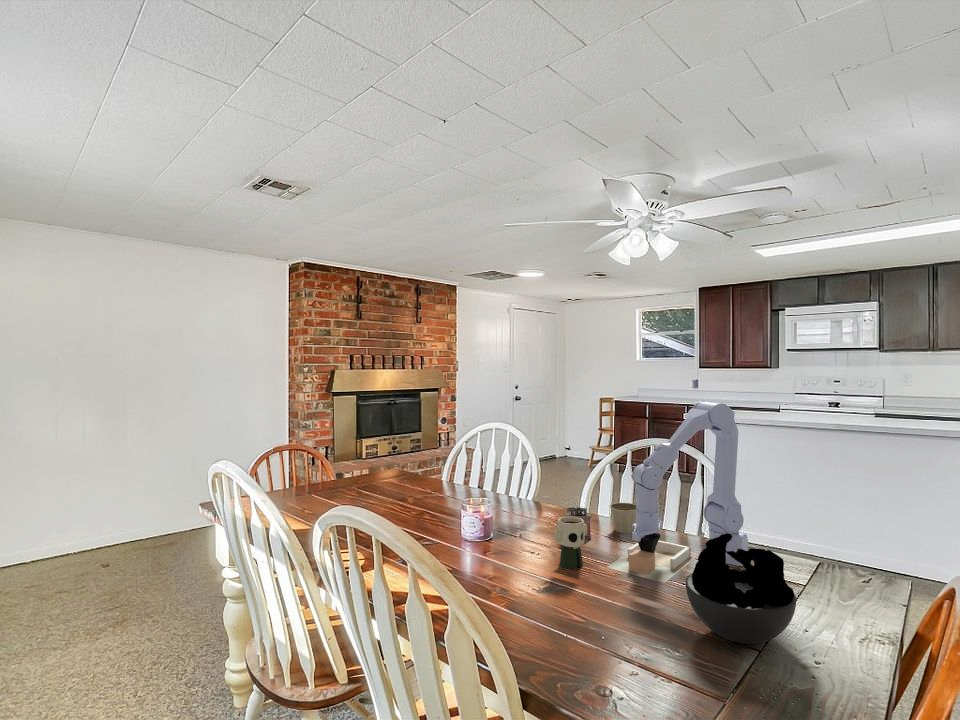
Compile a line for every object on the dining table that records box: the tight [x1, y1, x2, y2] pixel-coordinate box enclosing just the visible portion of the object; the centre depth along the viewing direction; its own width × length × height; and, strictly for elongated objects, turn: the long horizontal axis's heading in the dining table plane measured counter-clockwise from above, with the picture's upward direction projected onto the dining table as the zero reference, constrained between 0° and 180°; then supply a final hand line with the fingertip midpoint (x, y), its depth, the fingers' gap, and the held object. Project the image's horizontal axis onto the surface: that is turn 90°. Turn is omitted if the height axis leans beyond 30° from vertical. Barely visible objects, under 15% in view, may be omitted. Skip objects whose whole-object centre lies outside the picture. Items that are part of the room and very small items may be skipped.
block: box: [629, 550, 655, 575], centre depth 141 cm, size 5×5×4 cm
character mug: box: [553, 516, 587, 570], centre depth 146 cm, size 11×7×13 cm, turn 120°
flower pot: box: [609, 502, 636, 534], centre depth 174 cm, size 9×9×9 cm
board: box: [605, 550, 697, 584], centre depth 146 cm, size 16×22×1 cm
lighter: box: [564, 505, 592, 541], centre depth 169 cm, size 8×3×10 cm, turn 84°
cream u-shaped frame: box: [627, 540, 692, 569], centre depth 150 cm, size 13×12×2 cm
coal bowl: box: [684, 533, 797, 645], centre depth 108 cm, size 20×20×19 cm
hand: (647, 561), depth 144 cm, fingers closed
